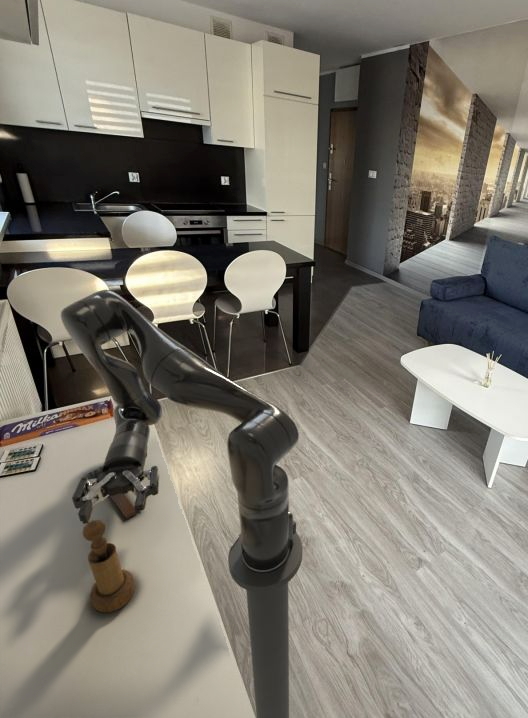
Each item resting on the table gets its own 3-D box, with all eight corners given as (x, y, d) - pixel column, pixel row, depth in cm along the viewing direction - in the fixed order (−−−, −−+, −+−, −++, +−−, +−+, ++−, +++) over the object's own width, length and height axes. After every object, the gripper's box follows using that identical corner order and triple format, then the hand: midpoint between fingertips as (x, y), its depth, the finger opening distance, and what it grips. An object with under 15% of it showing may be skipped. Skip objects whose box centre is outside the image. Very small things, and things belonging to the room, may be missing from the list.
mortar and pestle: (143, 584, 73) (125, 515, 65) (114, 618, 67) (90, 548, 59) (114, 571, 74) (93, 503, 66) (83, 604, 69) (56, 534, 61)
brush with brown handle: (142, 510, 87) (142, 507, 86) (121, 522, 84) (120, 519, 83) (108, 466, 98) (107, 464, 97) (88, 475, 94) (87, 473, 94)
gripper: (84, 448, 82) (59, 508, 68) (160, 438, 87) (151, 493, 73) (92, 475, 85) (70, 538, 72) (165, 464, 90) (157, 521, 76)
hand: (111, 515), depth 72 cm, fingers open, 8 cm apart
